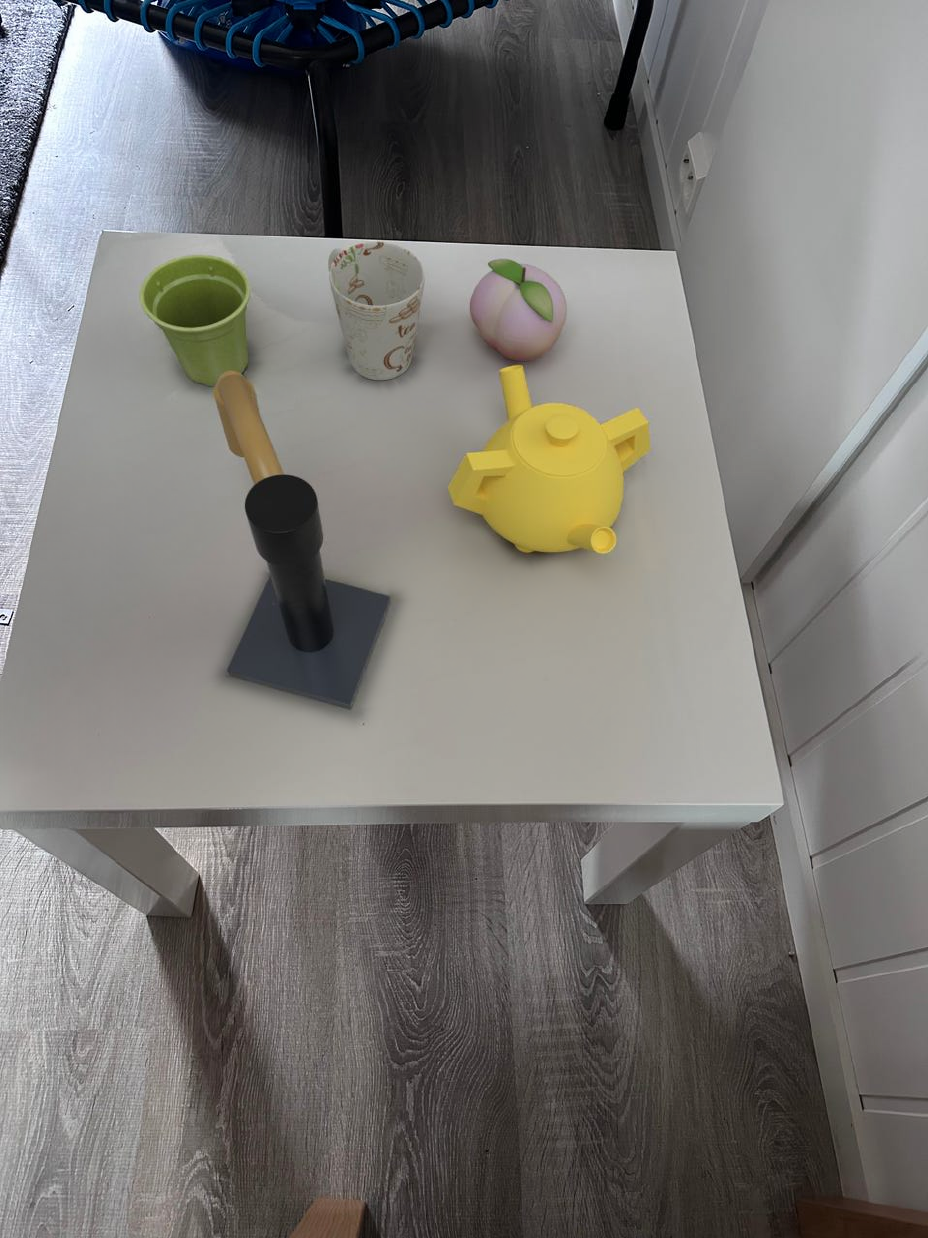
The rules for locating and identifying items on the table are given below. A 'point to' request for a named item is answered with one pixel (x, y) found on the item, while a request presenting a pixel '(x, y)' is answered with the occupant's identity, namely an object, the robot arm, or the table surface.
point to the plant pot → (200, 313)
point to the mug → (377, 305)
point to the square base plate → (310, 635)
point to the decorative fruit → (518, 309)
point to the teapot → (551, 472)
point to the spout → (268, 480)
